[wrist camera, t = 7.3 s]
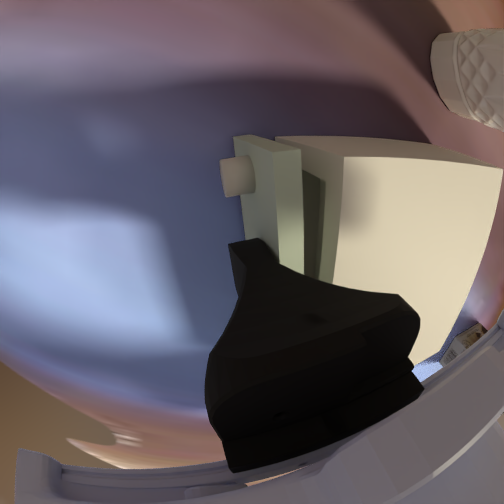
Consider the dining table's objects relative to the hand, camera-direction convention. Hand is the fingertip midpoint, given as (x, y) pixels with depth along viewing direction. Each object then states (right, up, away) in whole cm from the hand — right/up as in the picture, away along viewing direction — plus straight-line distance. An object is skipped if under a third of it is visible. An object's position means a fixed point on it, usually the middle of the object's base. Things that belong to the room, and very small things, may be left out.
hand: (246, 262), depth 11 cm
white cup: (+15, +14, +1) cm, 20 cm away
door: (0, -1, +4) cm, 4 cm away
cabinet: (+7, +1, +6) cm, 9 cm away
